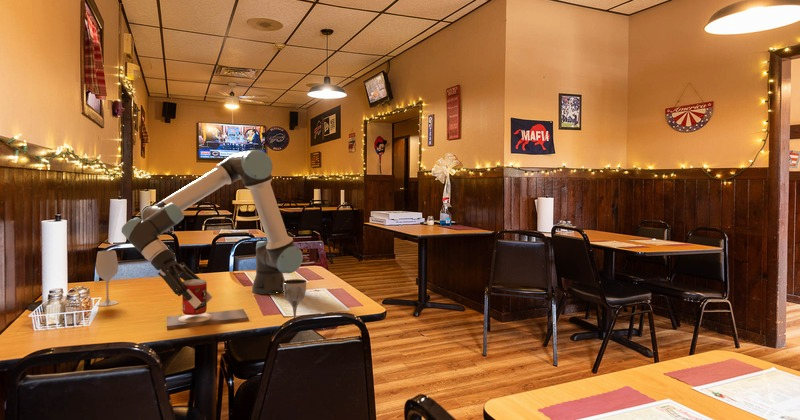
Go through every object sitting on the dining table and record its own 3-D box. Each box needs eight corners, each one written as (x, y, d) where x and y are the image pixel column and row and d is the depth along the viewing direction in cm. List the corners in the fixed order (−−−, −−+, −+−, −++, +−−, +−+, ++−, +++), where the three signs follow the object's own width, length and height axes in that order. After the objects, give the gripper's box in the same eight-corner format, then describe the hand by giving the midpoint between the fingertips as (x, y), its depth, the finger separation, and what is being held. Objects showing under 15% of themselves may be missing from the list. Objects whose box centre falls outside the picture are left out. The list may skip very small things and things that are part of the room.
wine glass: (310, 322, 168) (310, 280, 167) (298, 328, 160) (298, 284, 160) (290, 319, 171) (291, 278, 170) (278, 325, 163) (278, 282, 162)
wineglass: (123, 302, 190) (122, 251, 189) (104, 307, 184) (103, 253, 182) (110, 300, 194) (109, 249, 192) (91, 304, 187) (90, 251, 186)
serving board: (243, 312, 179) (243, 308, 179) (248, 320, 169) (248, 316, 169) (166, 320, 168) (166, 315, 168) (166, 329, 157) (166, 325, 157)
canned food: (198, 316, 162) (198, 284, 161) (177, 314, 163) (177, 282, 163) (211, 310, 169) (211, 279, 169) (191, 308, 171) (191, 278, 170)
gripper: (168, 258, 177) (210, 302, 176) (133, 267, 156) (181, 318, 156) (181, 244, 176) (224, 289, 176) (149, 252, 155) (197, 302, 155)
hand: (204, 302), depth 166 cm, fingers closed on canned food, 8 cm apart
